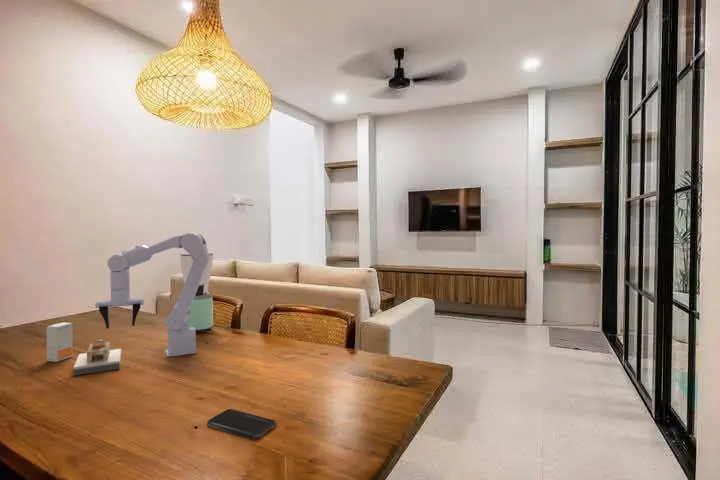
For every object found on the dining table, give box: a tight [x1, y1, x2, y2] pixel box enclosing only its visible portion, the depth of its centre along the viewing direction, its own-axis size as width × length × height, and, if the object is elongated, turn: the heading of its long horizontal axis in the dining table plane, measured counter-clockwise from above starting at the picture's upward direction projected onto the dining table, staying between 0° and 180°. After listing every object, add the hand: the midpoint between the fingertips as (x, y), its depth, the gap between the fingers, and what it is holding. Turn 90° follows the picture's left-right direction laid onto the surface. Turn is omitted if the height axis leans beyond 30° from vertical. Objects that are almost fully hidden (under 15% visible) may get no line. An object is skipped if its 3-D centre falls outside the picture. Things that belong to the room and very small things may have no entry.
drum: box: [91, 338, 106, 349], centre depth 128 cm, size 4×4×2 cm
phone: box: [206, 408, 277, 440], centre depth 91 cm, size 8×1×15 cm
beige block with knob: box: [86, 341, 111, 363], centre depth 128 cm, size 6×10×4 cm, turn 30°
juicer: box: [179, 252, 214, 333], centre depth 169 cm, size 19×13×35 cm
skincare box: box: [46, 322, 74, 363], centre depth 134 cm, size 6×4×12 cm
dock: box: [72, 348, 122, 376], centre depth 128 cm, size 12×15×2 cm
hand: (120, 326), depth 137 cm, fingers open, 7 cm apart
